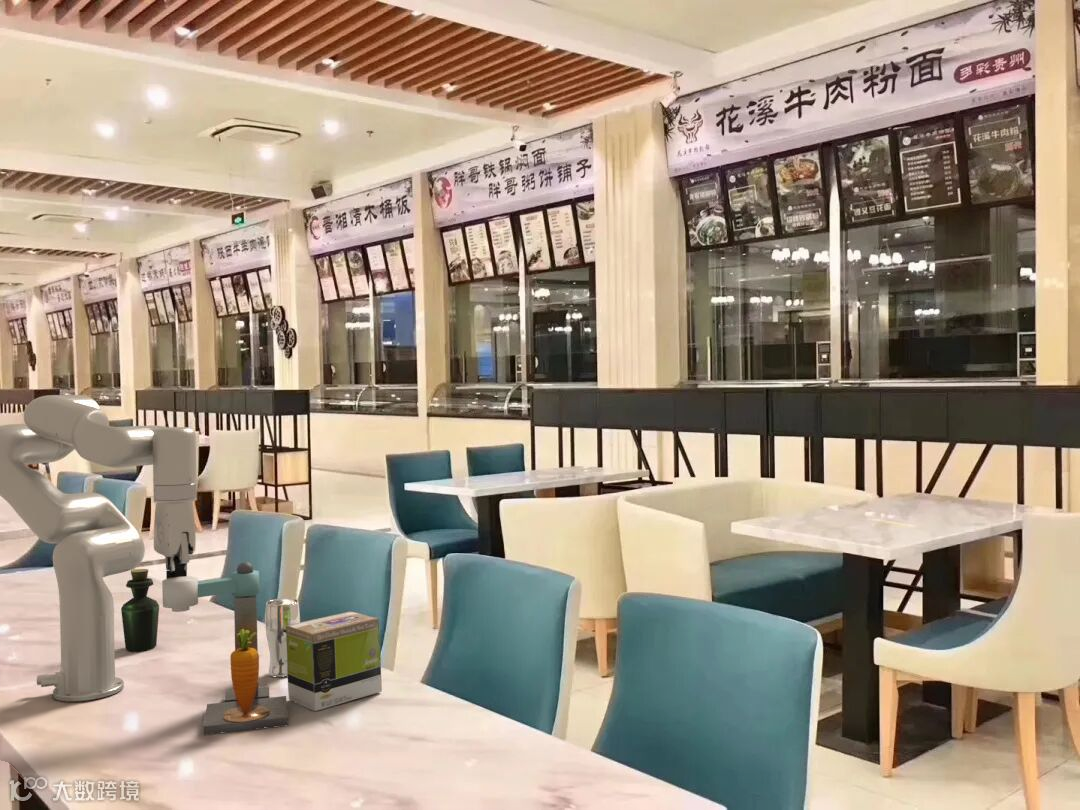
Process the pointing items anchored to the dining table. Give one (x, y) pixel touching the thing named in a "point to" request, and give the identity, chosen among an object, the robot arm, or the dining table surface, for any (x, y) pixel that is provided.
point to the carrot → (245, 671)
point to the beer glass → (279, 631)
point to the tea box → (333, 660)
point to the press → (263, 707)
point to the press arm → (208, 587)
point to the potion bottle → (140, 614)
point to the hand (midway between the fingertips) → (176, 591)
